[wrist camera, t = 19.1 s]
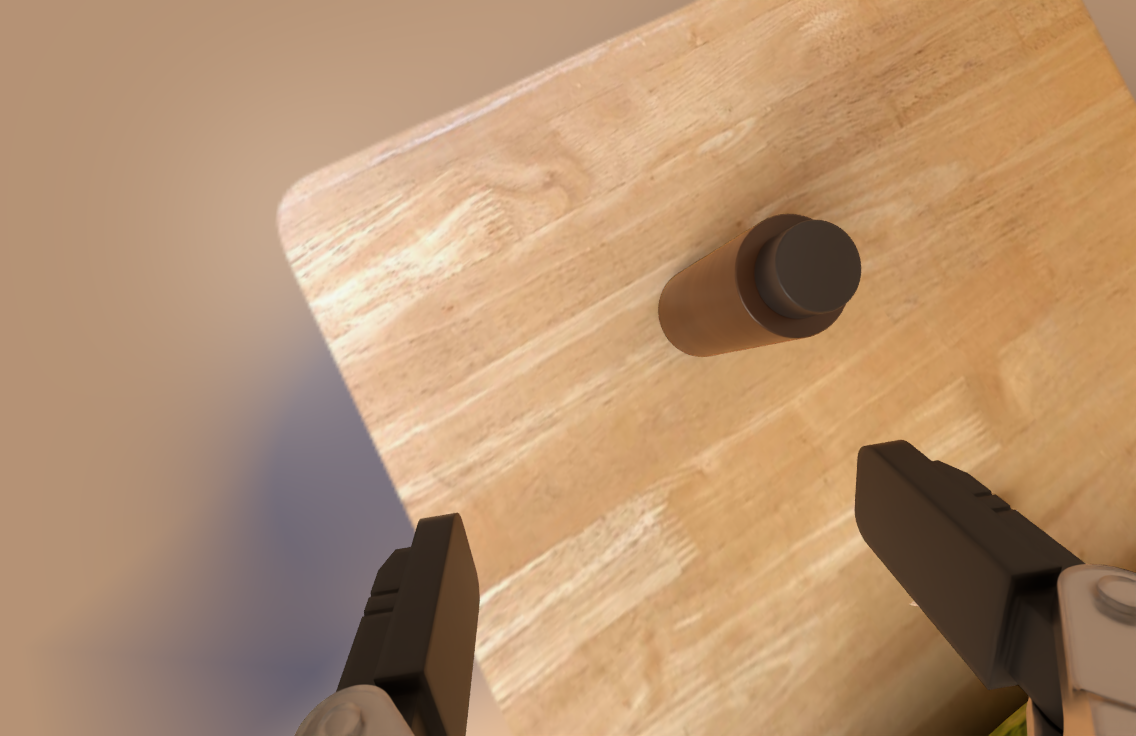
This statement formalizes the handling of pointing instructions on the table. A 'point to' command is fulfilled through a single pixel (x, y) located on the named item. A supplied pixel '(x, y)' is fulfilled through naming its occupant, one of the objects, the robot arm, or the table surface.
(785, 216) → the pepper mill
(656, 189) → the table surface
